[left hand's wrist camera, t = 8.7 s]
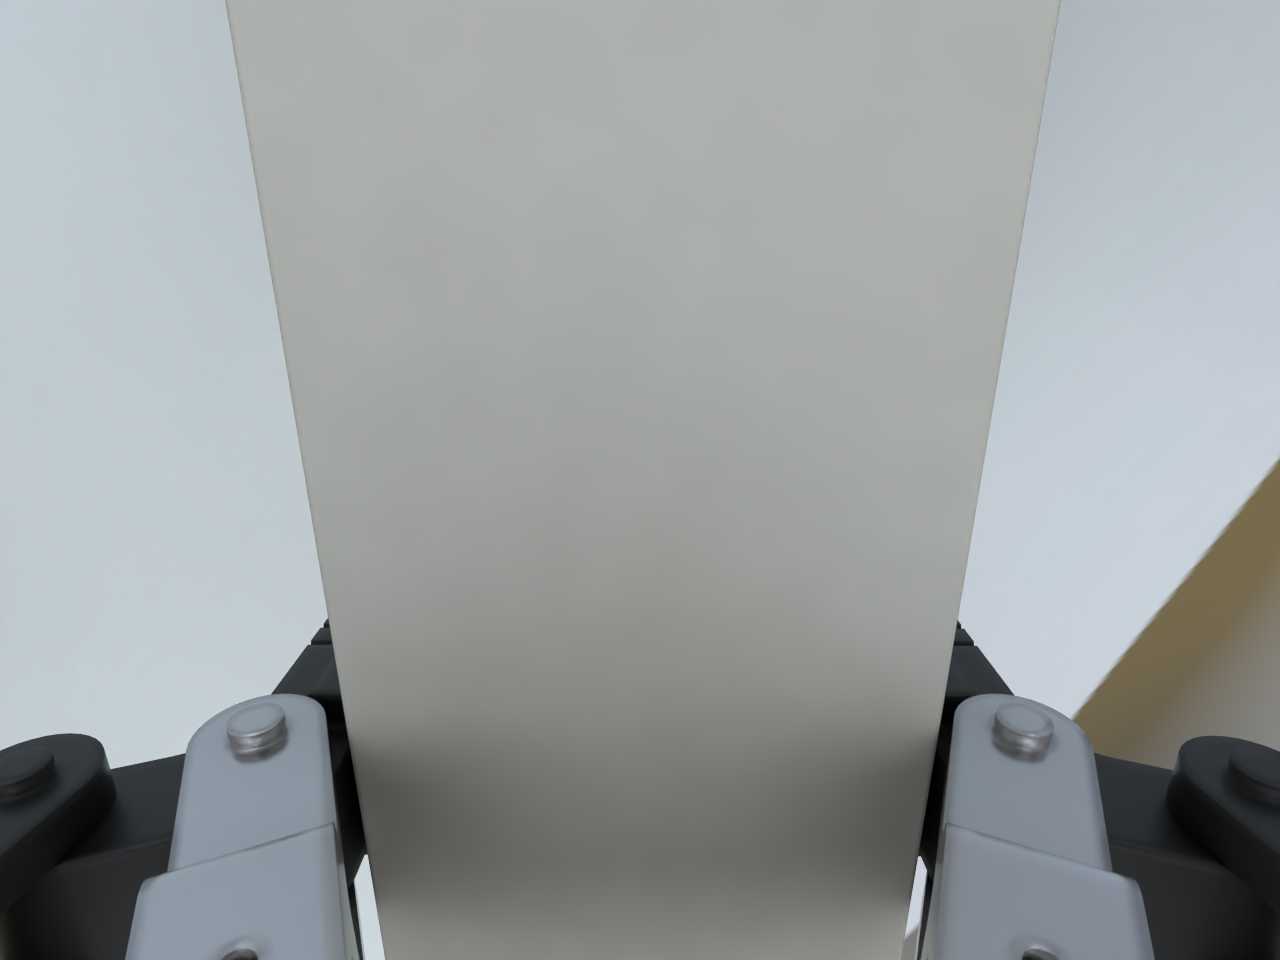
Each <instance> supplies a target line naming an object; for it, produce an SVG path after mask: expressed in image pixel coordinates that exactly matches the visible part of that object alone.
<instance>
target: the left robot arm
mask: <svg viewBox="0 0 1280 960" xmlns="http://www.w3.org/2000/svg"><path fill="white" fill-rule="evenodd" d="M365 854H368V852H367V846H366V840H365V834H364V828H363V822H362V816H361V810H360V804H359V798H358V792H357V786H356V780H355V774H354V768H353V762H352V756H351V750H350V744H349V738H348V732H347V726H346V720H345V714H344V708H343V702H342V696H341V690H340V684H339V678H338V672H337V666H336V660H335V654H334V648H333V642H332V636H331V630H330V624H329V618H328V619H327V620H326V621H325V623H324V627H323V628H320V629H319V631H318V632H317V633H316V635H315V636H314V638H313V639H312V640H311V645H308V646H307V647H306V648H305V650H304V651H303V652H302V654H301V655H300V656H299V658H298V659H297V660H296V662H295V663H294V664H293V666H292V667H291V668H290V670H289V671H288V672H287V674H286V675H285V676H284V678H283V679H282V680H281V682H280V683H279V684H278V686H277V687H276V688H275V690H274V691H273V693H272V694H271V695H267V696H262V697H257V698H254V699H250V700H247V701H244V702H241V703H239V704H236V705H234V706H232V707H230V708H228V709H225V710H224V711H222V712H220V713H219V714H217V715H215V716H214V717H212V718H211V719H210V720H208V721H207V722H206V723H205V724H203V725H202V726H201V727H200V728H199V729H198V730H197V731H196V733H195V734H194V735H193V736H192V738H191V740H190V742H189V743H188V747H187V750H186V753H185V754H181V755H177V756H172V757H168V758H163V759H158V760H153V761H149V762H144V763H139V764H134V765H129V766H125V767H120V768H115V769H110V767H109V764H108V760H107V757H106V754H105V751H104V748H103V746H102V744H101V743H100V742H99V741H98V740H97V739H95V738H93V737H91V736H88V735H83V734H71V733H69V734H56V735H50V736H44V737H40V738H36V739H32V740H28V741H25V742H22V743H19V744H16V745H13V746H11V747H8V748H6V749H3V750H1V751H0V960H365V955H364V947H363V938H362V930H361V922H360V914H359V905H358V897H357V891H356V886H355V880H354V879H355V876H356V874H357V872H358V869H359V867H360V864H361V862H362V860H363V857H364V855H365ZM918 856H921V857H922V860H923V862H924V864H925V867H926V869H927V874H926V879H925V885H924V891H923V897H922V905H921V913H920V921H919V930H918V938H917V946H916V954H915V960H1280V752H1279V751H1277V750H1274V749H1271V748H1269V747H1266V746H1263V745H1260V744H1257V743H1254V742H1250V741H1246V740H1242V739H1238V738H1231V737H1225V736H1202V737H1197V738H1193V739H1191V740H1188V741H1187V742H1185V743H1184V744H1183V745H1182V746H1181V748H1180V750H1179V753H1178V756H1177V759H1176V763H1175V766H1174V769H1173V770H1169V769H1164V768H1159V767H1154V766H1150V765H1145V764H1140V763H1135V762H1130V761H1125V760H1121V759H1116V758H1112V757H1108V756H1104V755H1100V754H1097V753H1094V750H1093V747H1092V744H1091V742H1090V740H1089V738H1088V736H1087V735H1086V734H1085V733H1084V731H1083V730H1082V729H1081V728H1080V727H1079V726H1078V725H1077V724H1075V723H1074V722H1073V721H1072V720H1070V719H1069V718H1068V717H1066V716H1065V715H1063V714H1061V713H1060V712H1058V711H1056V710H1054V709H1052V708H1050V707H1048V706H1046V705H1044V704H1041V703H1039V702H1036V701H1033V700H1030V699H1026V698H1023V697H1018V696H1014V694H1013V693H1012V692H1011V690H1010V689H1009V688H1008V686H1007V685H1006V684H1005V682H1004V681H1003V680H1002V678H1001V677H1000V676H999V674H998V673H997V672H996V670H995V669H994V668H993V667H992V665H991V664H990V663H989V661H988V660H987V659H986V657H985V656H984V655H983V653H982V652H981V651H980V649H979V648H978V647H977V646H974V641H973V640H972V639H971V637H970V636H969V635H968V633H967V632H966V631H965V629H961V624H960V623H959V622H958V620H957V625H956V631H955V637H954V643H953V649H952V655H951V661H950V667H949V673H948V679H947V685H946V691H945V697H944V703H943V709H942V715H941V721H940V727H939V733H938V739H937V745H936V751H935V757H934V763H933V769H932V775H931V781H930V787H929V793H928V799H927V805H926V811H925V817H924V823H923V829H922V835H921V841H920V847H919V853H918Z"/></svg>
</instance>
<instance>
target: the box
mask: <svg viewBox="0 0 1280 960" xmlns="http://www.w3.org/2000/svg"><path fill="white" fill-rule="evenodd" d="M225 1H226V7H227V13H228V19H229V25H230V31H231V37H232V43H233V49H234V55H235V61H236V67H237V73H238V79H239V85H240V91H241V97H242V103H243V109H244V115H245V121H246V127H247V133H248V139H249V145H250V151H251V157H252V163H253V169H254V175H255V181H256V187H257V193H258V199H259V205H260V211H261V217H262V223H263V229H264V235H265V241H266V246H267V253H268V258H269V264H270V270H271V276H272V282H273V288H274V294H275V300H276V306H277V312H278V318H279V324H280V330H281V336H282V342H283V348H284V354H285V360H286V366H287V372H288V378H289V384H290V390H291V396H292V402H293V408H294V414H295V420H296V426H297V432H298V438H299V444H300V450H301V456H302V462H303V468H304V474H305V480H306V486H307V492H308V498H309V504H310V510H311V516H312V522H313V528H314V534H315V540H316V546H317V552H318V558H319V564H320V570H321V576H322V582H323V588H324V594H325V600H326V606H327V612H328V618H329V624H330V630H331V636H332V642H333V648H334V654H335V660H336V666H337V672H338V678H339V684H340V690H341V696H342V702H343V708H344V714H345V720H346V726H347V732H348V738H349V744H350V750H351V756H352V762H353V768H354V774H355V780H356V786H357V792H358V798H359V804H360V810H361V816H362V822H363V828H364V834H365V840H366V846H367V852H368V858H369V864H370V870H371V876H372V882H373V888H374V894H375V900H376V906H377V912H378V918H379V924H380V930H381V936H382V942H383V948H384V954H385V960H901V955H902V949H903V943H904V937H905V931H906V925H907V919H908V913H909V907H910V901H911V895H912V889H913V883H914V877H915V871H916V865H917V859H918V853H919V847H920V841H921V835H922V829H923V823H924V817H925V811H926V805H927V799H928V793H929V787H930V781H931V775H932V769H933V763H934V757H935V751H936V745H937V739H938V733H939V727H940V721H941V715H942V709H943V703H944V697H945V691H946V685H947V679H948V673H949V667H950V661H951V655H952V649H953V643H954V637H955V631H956V625H957V619H958V613H959V607H960V601H961V595H962V589H963V583H964V577H965V571H966V565H967V560H968V554H969V548H970V542H971V536H972V530H973V524H974V518H975V512H976V506H977V500H978V494H979V488H980V482H981V476H982V470H983V464H984V458H985V452H986V446H987V440H988V434H989V428H990V422H991V416H992V410H993V404H994V398H995V392H996V386H997V380H998V374H999V368H1000V362H1001V356H1002V350H1003V344H1004V338H1005V332H1006V326H1007V320H1008V314H1009V308H1010V302H1011V296H1012V290H1013V284H1014V278H1015V272H1016V266H1017V260H1018V254H1019V248H1020V242H1021V236H1022V230H1023V224H1024V218H1025V212H1026V206H1027V200H1028V194H1029V188H1030V182H1031V176H1032V170H1033V164H1034V158H1035V152H1036V146H1037V140H1038V134H1039V128H1040V122H1041V116H1042V110H1043V104H1044V98H1045V92H1046V86H1047V80H1048V74H1049V68H1050V62H1051V56H1052V50H1053V44H1054V38H1055V32H1056V26H1057V20H1058V14H1059V8H1060V2H1061V0H225Z"/></svg>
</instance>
